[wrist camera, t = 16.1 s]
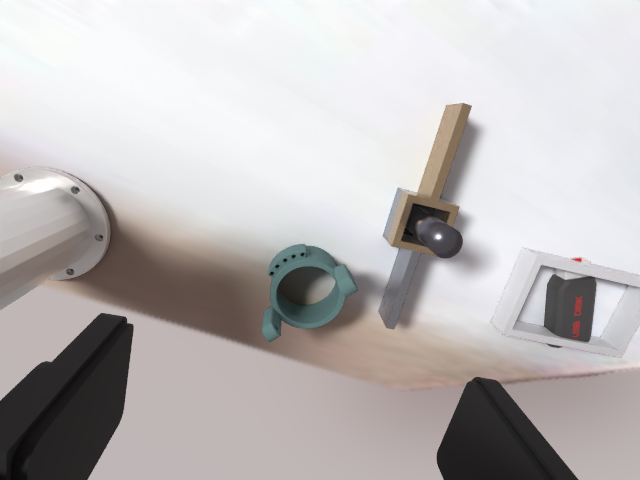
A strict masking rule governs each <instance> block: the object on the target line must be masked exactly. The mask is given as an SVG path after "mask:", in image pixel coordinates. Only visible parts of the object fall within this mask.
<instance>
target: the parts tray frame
mask: <svg viewBox="0 0 640 480" xmlns="http://www.w3.org/2000/svg"><path fill="white" fill-rule="evenodd" d="M580 263H581V262H579V261H575V260H572V259H569V258H565V257H561V256H556V255H552V254H548V253H544V252H539V251H535V250H531V249H527V248H522V249H521V251H520V253H519V256H518V258H517V260H516V263H515V265H514V267H513V270H512V272H511V274H510V277H509V279H508V281H507V284H506V286H505V288H504V291H503V293H502V295H501V298H500V300H499V302H498V305H497V307H496V309H495V312H494V314H493V316H492V319H491V321H490V323H491V324H492V325H493V326H494V327H495V328H496V329H497V330H498V331H499V332H500V333H501V334H502V335H505V336H511V337H516V338H521V339H526V340H532V341H537V342H542V343H547V344H552V345H558V346H563V347H568V348H573V349H578V350H584V351H589V352H594V353H599V354H604V355H610V356H615V357H620V358H621V357H622V356H623V354H624V352H625V350H626V348H627V347H628V345H629V343H630V341H631V339H632V338H633V336H634V334H635V332H636V330H637V329H638V327H639V325H640V275H638V274H633V273H629V272H625V271H620V270H616V269H612V268H608V267H603V266H599V265H595V264H591V266H589V265H584V264H580ZM541 265H544V266H549V267H553V268H557V269H562V270H566V271H571V272H575V273H579V274H584V275H588V276H592V277H597V278H601V279H606V280H610V281H614V282H619V283H623V284H627V285H628V286H627V288H626V290H625V292H624V294H623V296H622V298H621V299H620V301H619V303H618V305H617V307H616V309H615V311H614V313H613V315H612V316H611V318H610V320H609V322H608V324H607V326H606V328H605V330H604V332H603V333H602V335H601V337H600V338H599V337H594V336H591V338H590V341H589V342H583V341H577V340H572V339H567V338H562V337H559V336H557V335H554V334H553V333H552V332H550V331H549V330H548V329H547V328H545V327H544V326H539V325H534V324H529V323H524V322H519V321H516V320H517V318H518V315H519V313H520V311H521V309H522V306H523V304H524V302H525V300H526V298H527V295H528V293H529V291H530V289H531V286H532V284H533V282H534V280H535V278H536V275H537V273H538V271H539V269H540V266H541Z"/></svg>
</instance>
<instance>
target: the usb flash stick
mask: <svg viewBox="0 0 640 480" xmlns="http://www.w3.org/2000/svg"><path fill="white" fill-rule="evenodd" d="M570 259H572V260H575V261H579V262H581V263H580V264H584V265H589V266H591V261H589V260H587V259H585V258H582V257H576V258H570ZM595 293H596V281H595V277H592V276H588V275H584V274H579V273H575V272H571V271H566V270H562V269H557V268H556V274H554V275H552V277H551V278H550V280H549V282H548V283H547V292H546V305H545V318H544V327H545V328H547V329H548V330H549V331H550V332H552V333H553V334H554V335H557V336H559V337H562V338H567V339H572V340H577V341H583V342H589V341H590V338H591V330H592V321H593V312H594V303H595ZM546 344H547V343H546ZM548 345H549V346H551V347H556V348H559V347H563V346H558V345H552V344H548Z"/></svg>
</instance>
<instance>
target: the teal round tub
mask: <svg viewBox="0 0 640 480" xmlns="http://www.w3.org/2000/svg"><path fill="white" fill-rule="evenodd" d="M304 266H314V267H318V268H321V269H323V270H325V271H327V272H328V273H329V274H331V276H332V277H333V278H334V279H335V281H336V283H335V286H334V288H333V290H332V292H331V293H330V294H329V295H328V296H327V297H326V298H325V299H323V300H322V301H320V302H318V303H315V304H311V305H298V304H295V303H292V302H290V301H288V300H287V299H285V298H284V297H283V296H282V295H281V294H280V292H279V291H278V289H277V287H278V284H279V283H280V281H281V279H282V278H283V277H284V276H285V275H286V274H287V273H289V272H290V271H292V270H294V269H296V268H299V267H304ZM268 275H270V276H272V281H271V290H270V300H271V306H270V307H269V308H268V309H267V310H266V311H264V315H263V323H262V333H263V335H264V337H265V338H266V340H267V341H269V342H271V341H273V340H275V339H276V338H278V337H280V336H281V320H282V321H284V322H285V323H287V324H289V325H291V326H294V327H297V328H303V329H310V328H316V327H319V326H322V325H324V324H326V323H328V322H329V321H331V320H332V319H333V318H334V317H335V316H336V315H337V314H338V313H339V311H340V310H341V308H342V306H343V303H344V298H345V297H347V296H349V295H351V294H352V293H354V292H356V291H358V289H357V286H356V284H355V282H354V279H353V277H352V275H351V273H350V272H349V270H348V269H347V267H346V265H344V264H342V265H340V266H337V265H336V264H335V262H334V260H333V259H332V257H331V256H330V254H328V253H327V252H326V251H324V250H322V249H320V248H317V247H314V246H306V245H305V244H299V245H294V246H291V247H288V248H286V249H284V250H282V251H281V252H280V253H279V254H277V255H276V256H275V258H274V259H273V260H272V262H271V263H270V265H269V271H268Z"/></svg>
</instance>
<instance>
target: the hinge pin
mask: <svg viewBox="0 0 640 480" xmlns="http://www.w3.org/2000/svg"><path fill="white" fill-rule="evenodd" d="M405 228H406V229H407V230H408V231H409V232H410V233H411V234H413V235H414V236H415V237H416V238H417V239H418V240H419V241H421V242H422V243H423V244H424V245H425V246H426V247H427V248H429V249H430V250H431V251H432V252H433V253H434V254H435V255H437V256H438V257H440V258H450V257H453V256H454V255H456V254H457V253H458V252H459V251H460V249H461V247H462V243H463V239H462V236H461V234H460V232H459V231H457V230H456V229H454V228H453V227H451V226H449V225H448V224H446V223H445V222H443V221H441V220H440V219H438V218H436V217H435V216H433V215H432V214H430V213H428V212H427V211H425V210H423V209H422V208H420V207H418V206H412V208H411V211H410V214H409V217H408V220H407V223H406V226H405Z"/></svg>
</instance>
